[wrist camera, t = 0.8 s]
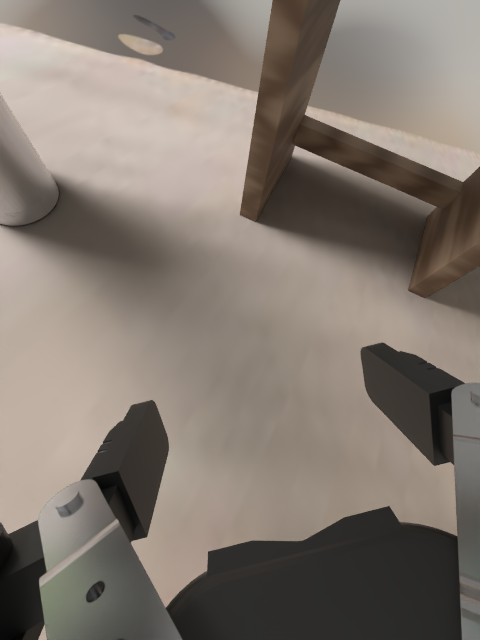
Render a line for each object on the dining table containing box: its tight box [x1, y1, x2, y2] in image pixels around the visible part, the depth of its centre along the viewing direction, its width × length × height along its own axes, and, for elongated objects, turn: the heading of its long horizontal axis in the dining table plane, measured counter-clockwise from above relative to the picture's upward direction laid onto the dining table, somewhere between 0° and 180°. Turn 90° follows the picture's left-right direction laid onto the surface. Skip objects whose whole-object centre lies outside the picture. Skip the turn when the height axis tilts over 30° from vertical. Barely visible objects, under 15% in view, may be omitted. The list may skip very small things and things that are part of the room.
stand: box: [240, 0, 480, 298], centre depth 27 cm, size 28×16×32 cm, turn 65°
